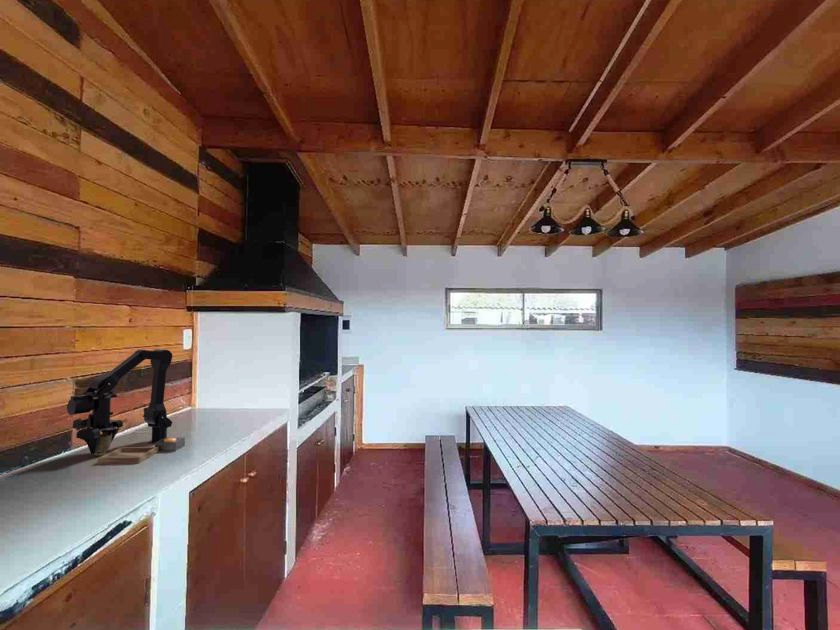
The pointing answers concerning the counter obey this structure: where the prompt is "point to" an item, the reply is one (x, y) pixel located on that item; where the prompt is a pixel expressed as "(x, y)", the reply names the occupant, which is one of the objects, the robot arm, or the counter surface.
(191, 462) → the counter surface
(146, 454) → the wooden tray
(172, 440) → the button
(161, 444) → the panel
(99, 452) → the ornate lamp shade
